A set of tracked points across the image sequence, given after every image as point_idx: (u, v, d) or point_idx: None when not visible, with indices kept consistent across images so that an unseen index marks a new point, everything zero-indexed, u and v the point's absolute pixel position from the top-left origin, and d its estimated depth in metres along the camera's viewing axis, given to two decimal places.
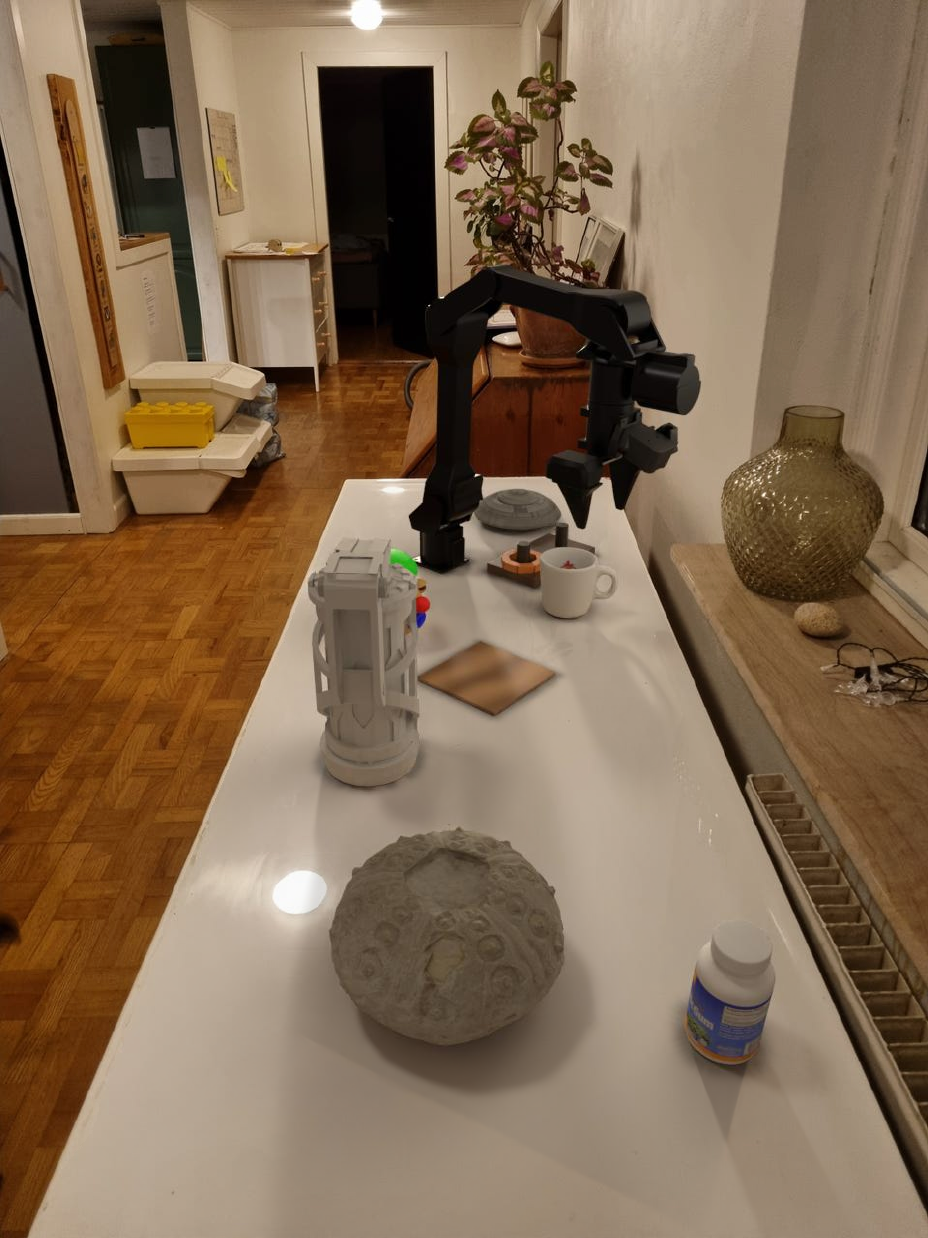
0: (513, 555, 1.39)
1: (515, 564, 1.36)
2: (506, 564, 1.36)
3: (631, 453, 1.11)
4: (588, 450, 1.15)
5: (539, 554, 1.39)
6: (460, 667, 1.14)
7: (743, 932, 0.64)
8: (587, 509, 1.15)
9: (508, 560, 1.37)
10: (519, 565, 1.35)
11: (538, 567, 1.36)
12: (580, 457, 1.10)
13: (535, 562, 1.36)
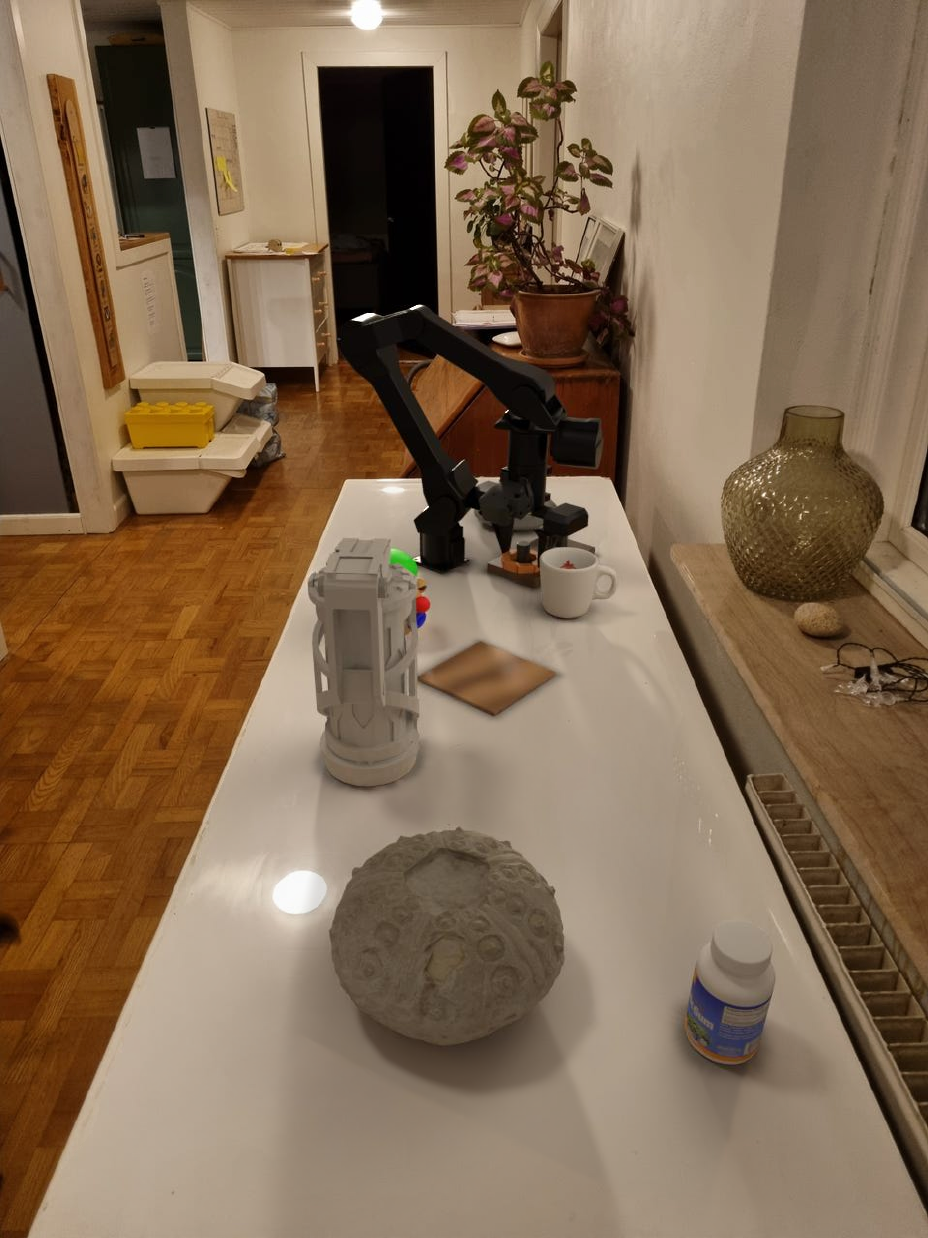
0: (513, 555, 1.39)
1: (515, 564, 1.36)
2: (506, 564, 1.36)
3: None
4: None
5: None
6: (460, 667, 1.14)
7: (743, 932, 0.64)
8: (498, 537, 1.38)
9: (508, 560, 1.37)
10: (519, 565, 1.35)
11: None
12: (485, 487, 1.37)
13: (535, 562, 1.36)
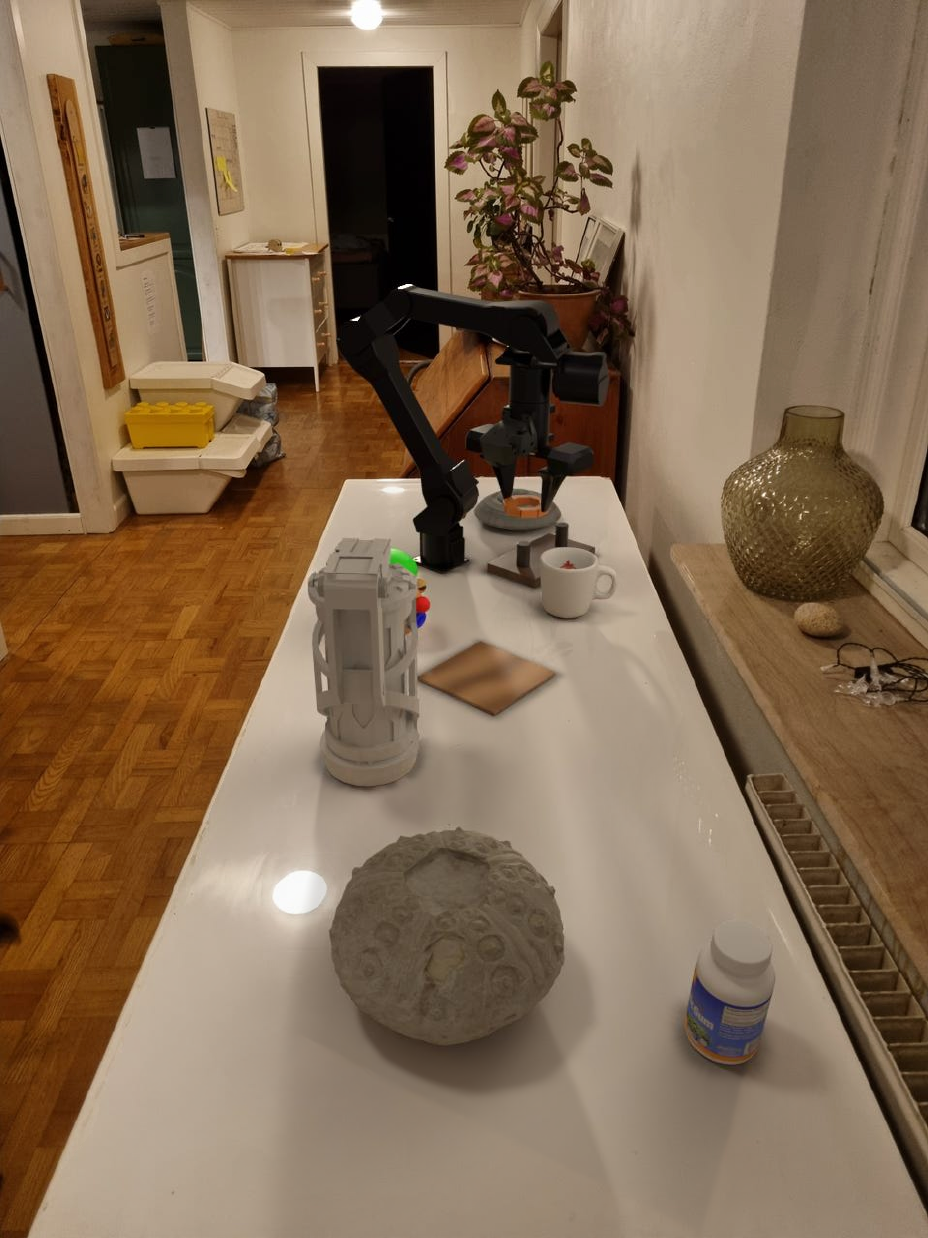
0: (515, 500, 1.34)
1: (518, 508, 1.31)
2: (508, 509, 1.31)
3: None
4: None
5: None
6: (460, 667, 1.14)
7: (743, 932, 0.64)
8: (500, 482, 1.33)
9: (510, 504, 1.32)
10: (522, 509, 1.30)
11: None
12: (485, 429, 1.32)
13: (538, 506, 1.31)
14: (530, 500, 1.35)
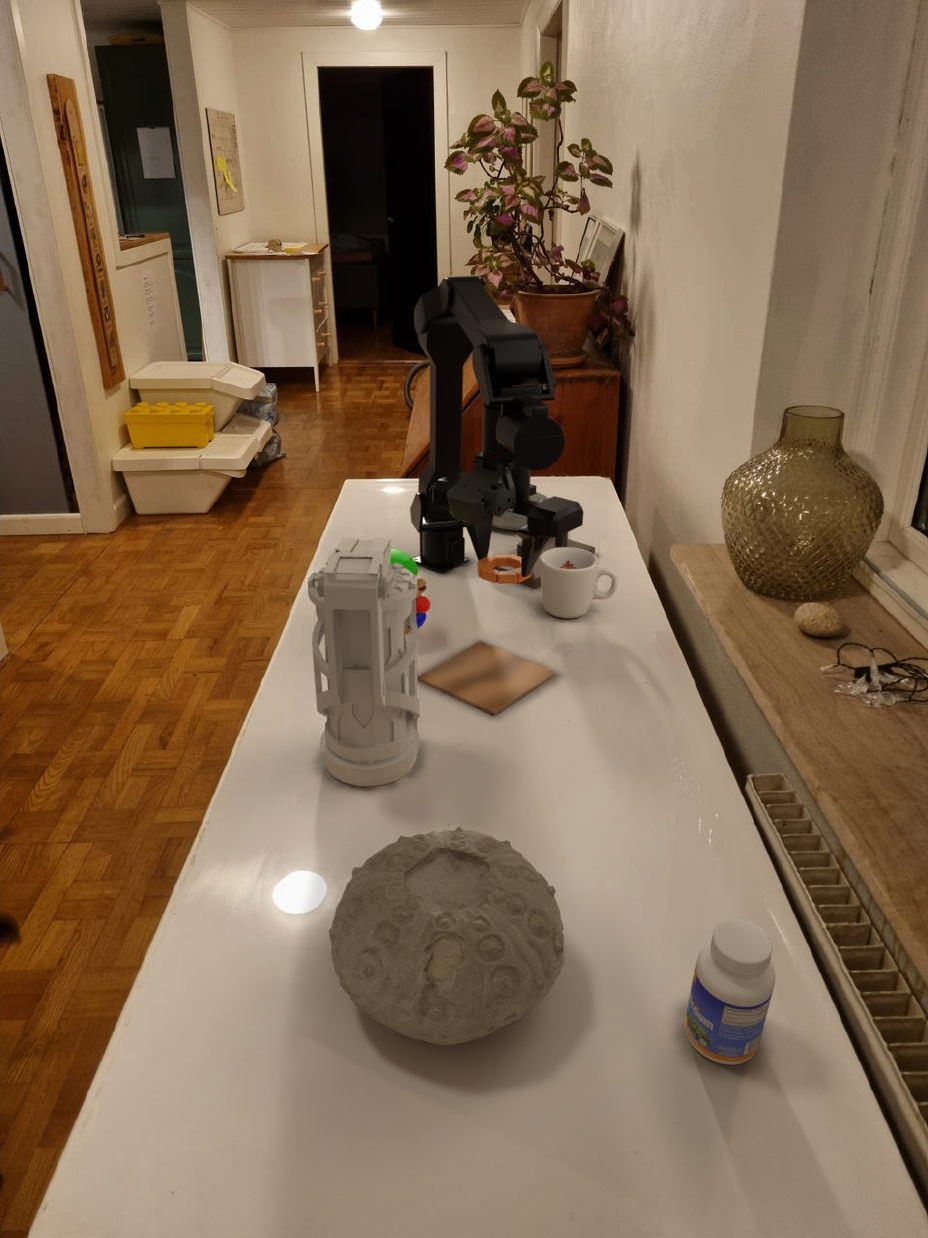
0: (492, 562, 1.14)
1: (494, 572, 1.11)
2: (483, 572, 1.11)
3: None
4: None
5: None
6: (460, 667, 1.14)
7: (743, 932, 0.64)
8: (473, 540, 1.13)
9: (486, 567, 1.12)
10: (499, 573, 1.10)
11: None
12: (456, 479, 1.12)
13: (519, 570, 1.11)
14: (510, 561, 1.15)
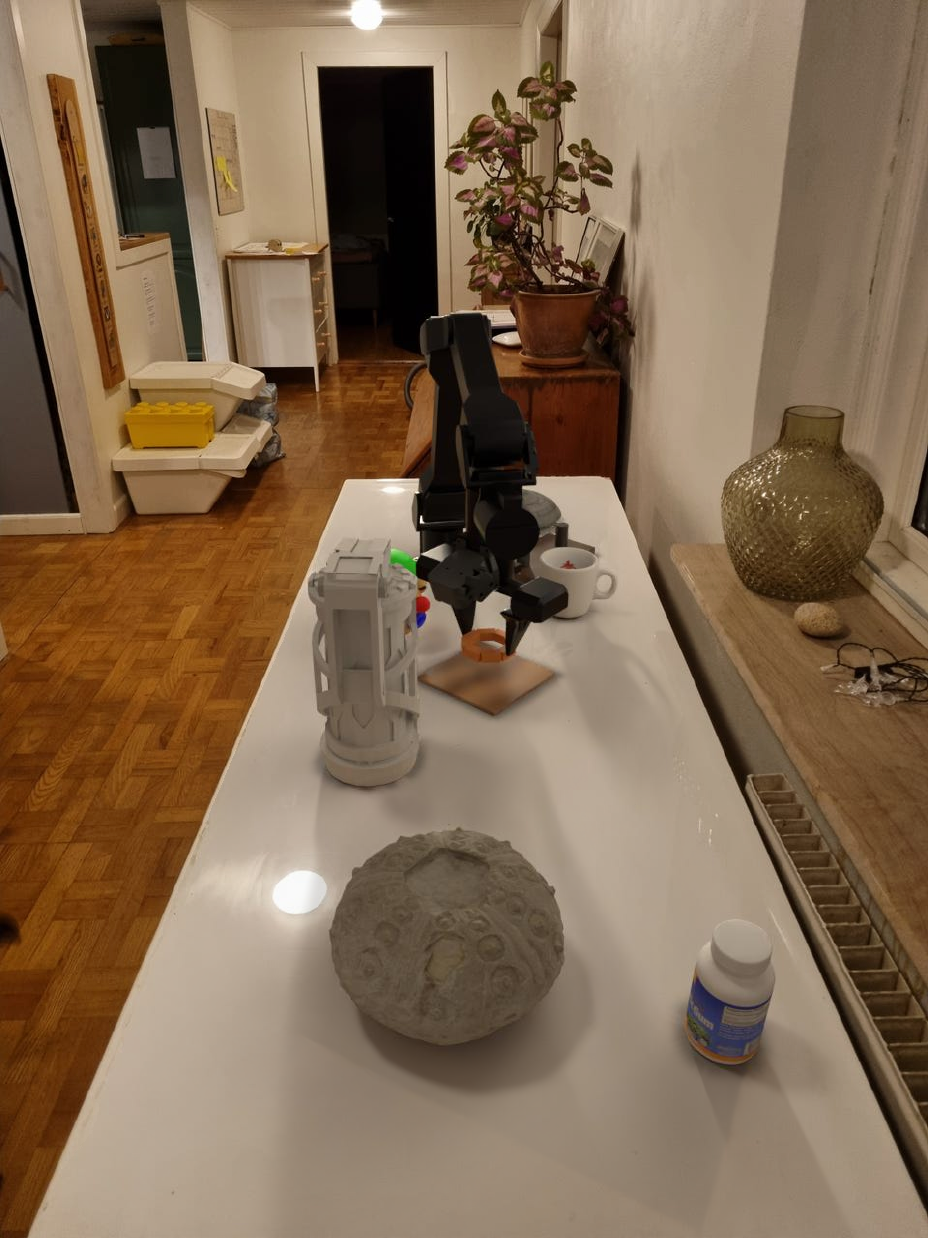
0: (476, 637, 1.12)
1: (478, 650, 1.08)
2: (467, 650, 1.08)
3: None
4: None
5: None
6: (460, 667, 1.14)
7: (743, 932, 0.64)
8: (457, 616, 1.10)
9: (469, 644, 1.09)
10: (483, 652, 1.08)
11: None
12: (440, 554, 1.09)
13: (503, 648, 1.09)
14: (494, 636, 1.12)
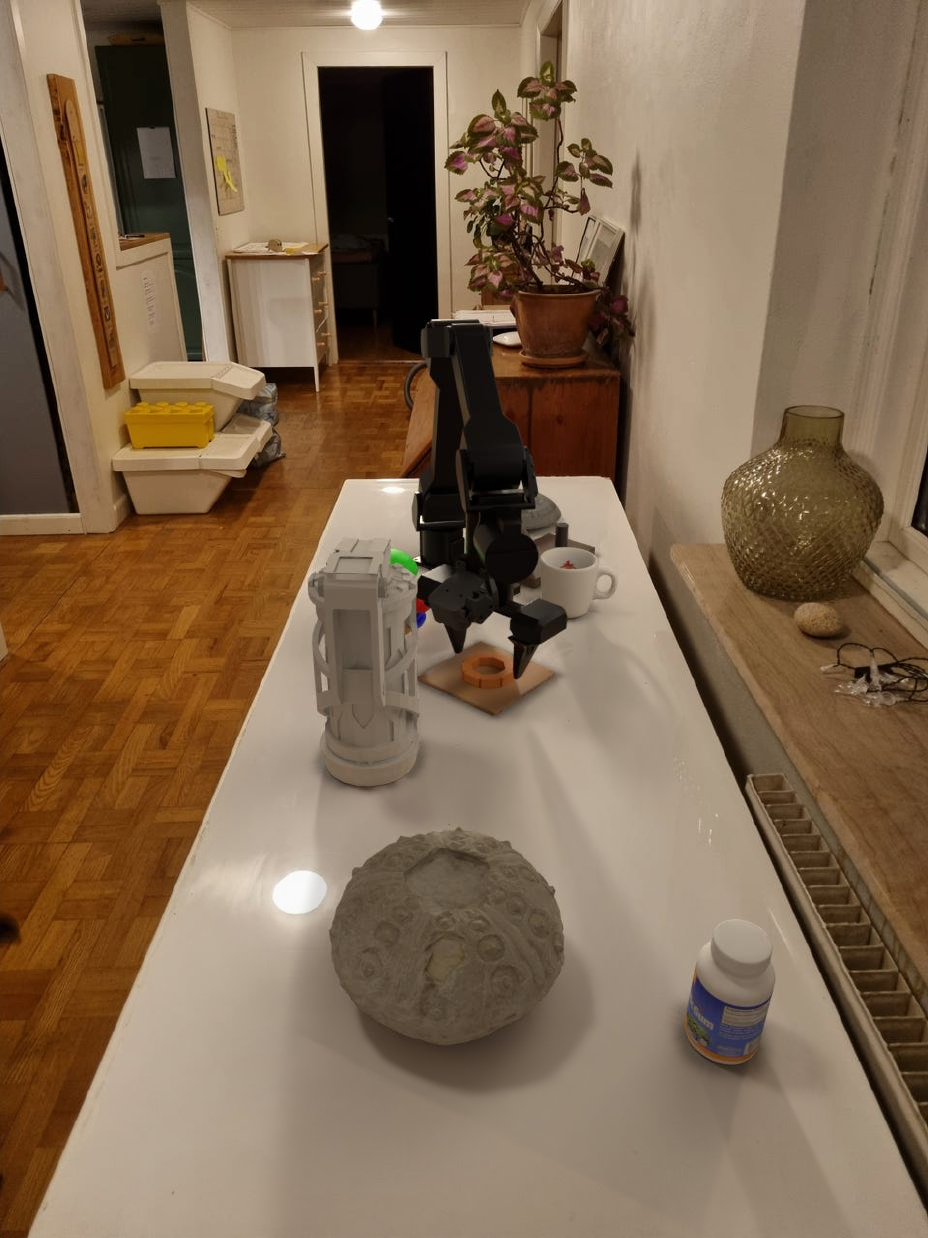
0: (476, 661, 1.13)
1: (477, 675, 1.10)
2: (466, 676, 1.10)
3: None
4: None
5: (508, 661, 1.13)
6: (460, 667, 1.14)
7: (743, 932, 0.64)
8: (449, 632, 1.12)
9: (469, 669, 1.11)
10: (482, 678, 1.09)
11: (506, 680, 1.10)
12: (440, 575, 1.10)
13: (502, 673, 1.10)
14: (494, 660, 1.14)
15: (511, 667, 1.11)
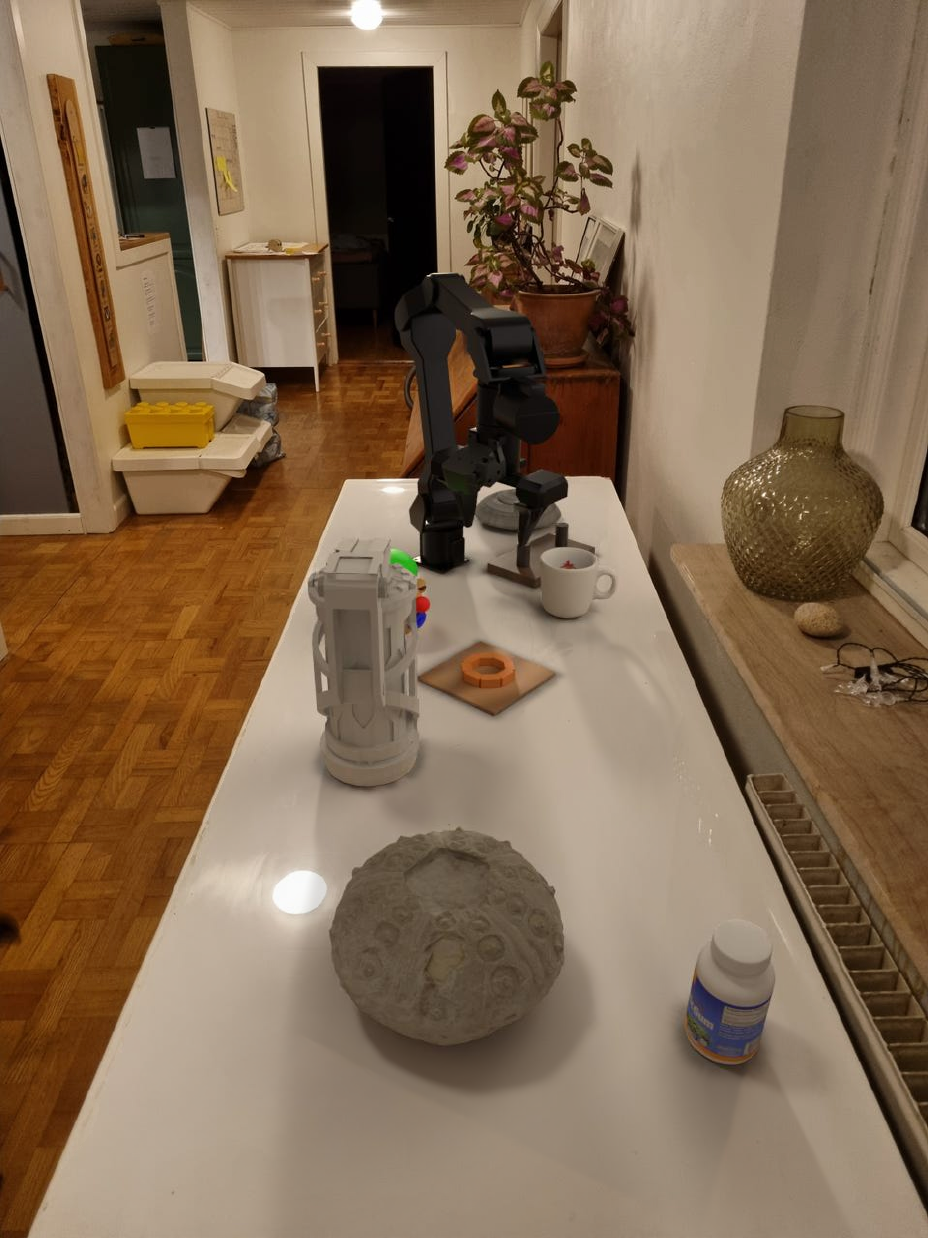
0: (476, 661, 1.13)
1: (477, 675, 1.10)
2: (466, 676, 1.10)
3: None
4: None
5: (508, 661, 1.13)
6: (460, 667, 1.14)
7: (743, 932, 0.64)
8: (460, 507, 1.23)
9: (469, 669, 1.11)
10: (482, 678, 1.09)
11: (506, 680, 1.10)
12: (452, 452, 1.21)
13: (502, 673, 1.10)
14: (494, 660, 1.14)
15: (511, 667, 1.11)
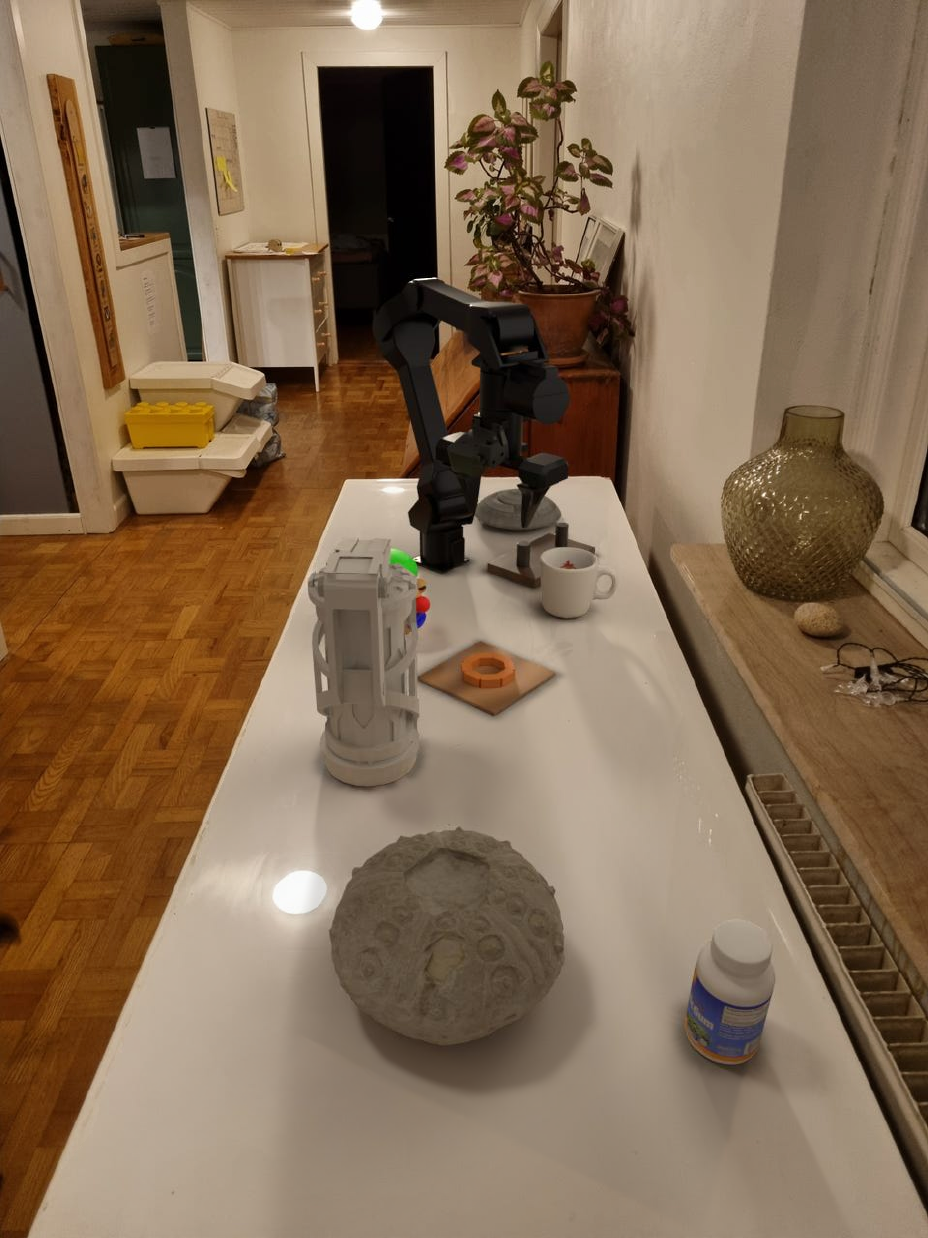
0: (476, 661, 1.13)
1: (477, 675, 1.10)
2: (466, 676, 1.10)
3: None
4: None
5: (508, 661, 1.13)
6: (460, 667, 1.14)
7: (743, 932, 0.64)
8: (464, 491, 1.27)
9: (469, 669, 1.11)
10: (482, 678, 1.09)
11: (506, 680, 1.10)
12: (456, 438, 1.25)
13: (502, 673, 1.10)
14: (494, 660, 1.14)
15: (511, 667, 1.11)
